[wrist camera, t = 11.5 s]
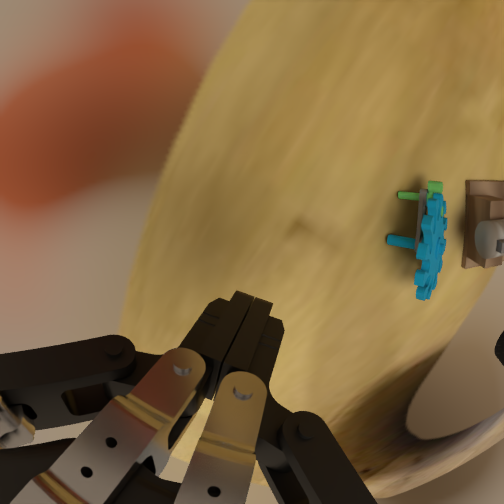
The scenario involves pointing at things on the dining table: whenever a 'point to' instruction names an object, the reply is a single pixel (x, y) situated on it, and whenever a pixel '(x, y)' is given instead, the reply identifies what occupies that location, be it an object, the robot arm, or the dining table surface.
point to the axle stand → (484, 224)
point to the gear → (426, 236)
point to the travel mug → (500, 348)
